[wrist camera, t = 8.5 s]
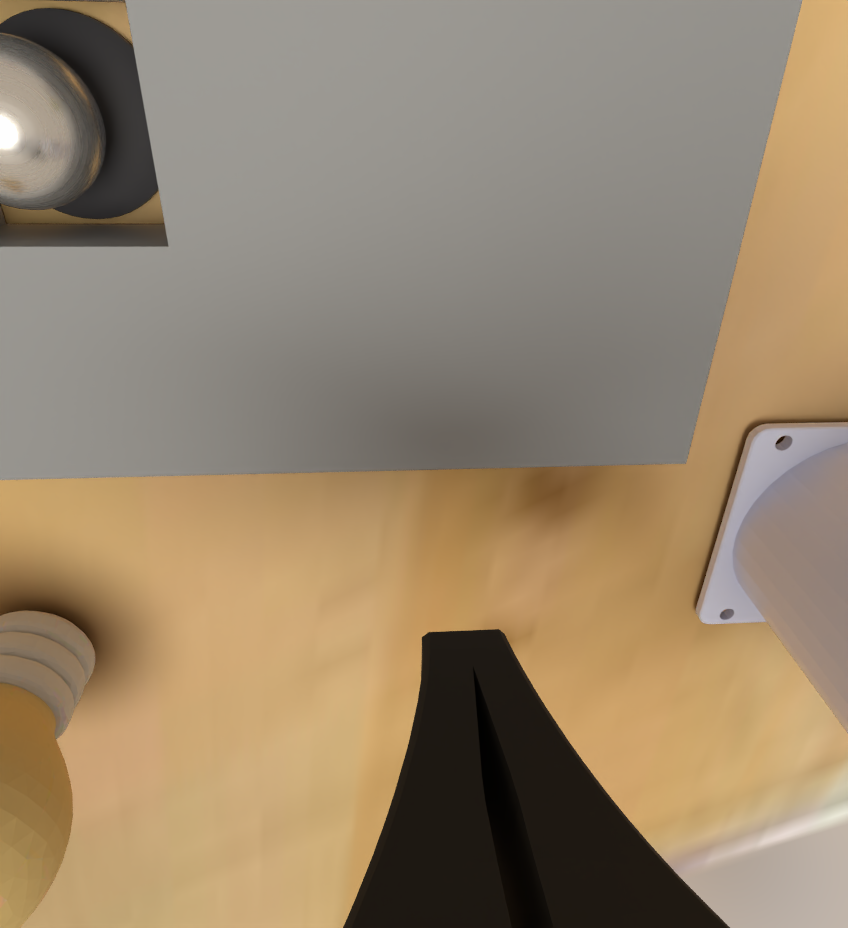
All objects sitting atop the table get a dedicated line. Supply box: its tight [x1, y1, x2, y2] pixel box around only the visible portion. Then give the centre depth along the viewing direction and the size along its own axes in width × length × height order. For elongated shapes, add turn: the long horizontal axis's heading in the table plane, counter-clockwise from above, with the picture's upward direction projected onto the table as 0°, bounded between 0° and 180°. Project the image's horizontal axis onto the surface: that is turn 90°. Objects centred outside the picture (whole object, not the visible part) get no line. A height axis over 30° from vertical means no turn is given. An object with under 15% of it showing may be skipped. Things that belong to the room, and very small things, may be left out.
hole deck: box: [0, 0, 802, 480], centre depth 14 cm, size 20×16×2 cm
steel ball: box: [0, 33, 106, 210], centre depth 13 cm, size 3×3×3 cm
